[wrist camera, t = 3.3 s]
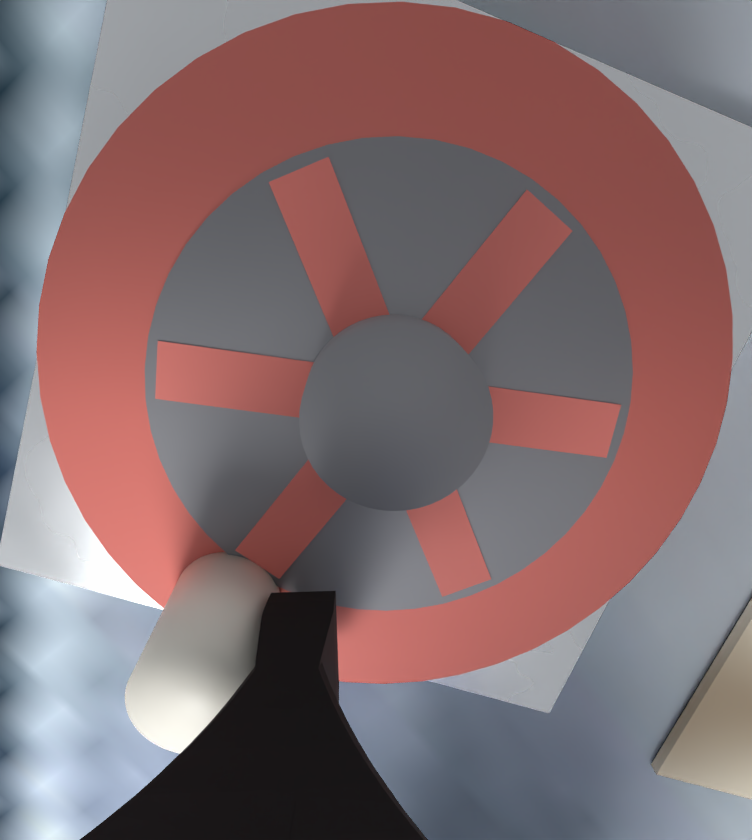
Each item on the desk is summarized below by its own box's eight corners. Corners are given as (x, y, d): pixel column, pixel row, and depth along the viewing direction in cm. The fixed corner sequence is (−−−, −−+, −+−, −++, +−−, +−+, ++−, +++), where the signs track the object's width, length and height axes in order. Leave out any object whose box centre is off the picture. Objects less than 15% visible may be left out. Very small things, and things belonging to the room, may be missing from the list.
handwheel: (327, -157, 9) (310, -418, 6) (823, 331, 12) (1039, 378, 8) (-49, 435, 12) (-234, 530, 8) (426, 731, 14) (452, 906, 11)
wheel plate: (544, 701, 15) (549, 713, 15) (6, 554, 13) (-4, 564, 13) (823, 167, 12) (839, 165, 11) (142, -125, 10) (134, -140, 9)
